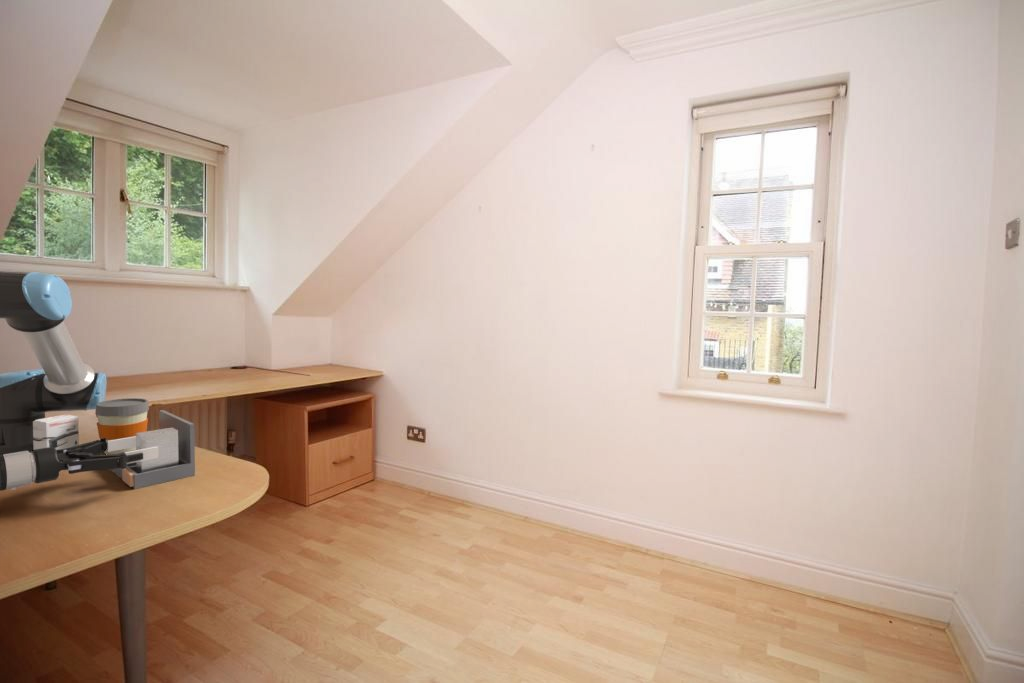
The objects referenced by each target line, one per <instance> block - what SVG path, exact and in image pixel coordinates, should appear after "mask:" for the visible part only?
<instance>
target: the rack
mask: <svg viewBox="0 0 1024 683" xmlns="http://www.w3.org/2000/svg"><path fill="white" fill-rule="evenodd" d="M158 416H159V418H158V420H159V422H158V423H159V427H158V428H159V429H166V428H174V429H176V430H178V463H179V465H176V466H172V467H167V468H162V469H158V470H153V471H148V472H143V473H139V474H137V470H136V462H135V463H130V464H126V468H124V469H122V468H117V469H111V470H112V471H111V470H110V471H111V472H113V473H114V472H115V473H116V474H117V475H116V474H115V473H114V474H115V475H116V476H118V477H119V476H120V477H121V478H122V479H121V478H120V477H119V478H120V479H121V480H122V482H124V483H125V484H126V485H128V486H129V487H130V488H133V489H134V490H137V489H136V488H138V489H141V488H140V487H142V488H146V486H147V487H150V485H151V486H155V485H159V484H163V483H167V482H172V481H176V479H177V480H181V479H184V478H185V479H186V478H189V477H188V476H190V477H193V475H194V476H196V460H195V459H196V458H195V457H196V455H195V454H196V453H195V452H196V451H195V450H196V449H195V448H196V447H195V446H196V445H195V443H196V442H195V423H193V422H191V421H189V420H187V419H185V418H182V417H180V416H177V415H175V414H173V413H170V412H169V411H167V410H164V409H161V410H158ZM159 429H158V430H159ZM133 451H135V450H133ZM127 452H130V451H127ZM116 454H125V452H122V453H116ZM118 462H119V460H118Z"/></svg>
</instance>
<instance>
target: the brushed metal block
mask: <svg viewBox="0 0 1024 683" xmlns="http://www.w3.org/2000/svg"><path fill="white" fill-rule="evenodd" d="M152 447H158V458H155V459H150V460H145V461H140V462H136V470H137V474H139V473H143V472H148V471H153V470H158V469H162V468H167V467H172V466H176V465H179V463H178V430H176V429H174V428H166V429H155V430H146V432H140V433H136V450H141V449H146V448H152Z"/></svg>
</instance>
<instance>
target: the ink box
mask: <svg viewBox="0 0 1024 683" xmlns="http://www.w3.org/2000/svg"><path fill="white" fill-rule="evenodd" d="M79 437H80V435H79V416H78V415H73V414H61V415H56V416H55V415H54V416H50V417H45V418H43V419H38V420H35V421H33V445H34V450H35V449H41V448H48V447H54V448H55V449H56V450H60V449H66V448H70V447H73V446H77V445H80V438H79Z"/></svg>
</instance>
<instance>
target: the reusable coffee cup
mask: <svg viewBox="0 0 1024 683" xmlns="http://www.w3.org/2000/svg"><path fill="white" fill-rule="evenodd" d="M148 411H150V407H149V400H148V399H146V398H133V397H132V398H131V397H129V398H127V397H126V398H116V399H109V400H108V399H107V400H104V401H103V402H99V403H97V404H96V409H95V415H96V417H97V422H96V427H97V433H98V437H99V440H100V439H101V438H106V442H107V441H110V440H116V439H122V438H128V437H134V436H136V433H140V432H146V431H148V430H147V428H148V422H149V418H148V417H147V416H148ZM133 450H136V447H133V448H128V449H122V450H116V451H111V452H108V451H107V449H106V451H104V452H103V453H105V454H107V455H110V454H116V453H122V452H127V451H133ZM105 454H104V455H105Z"/></svg>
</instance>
